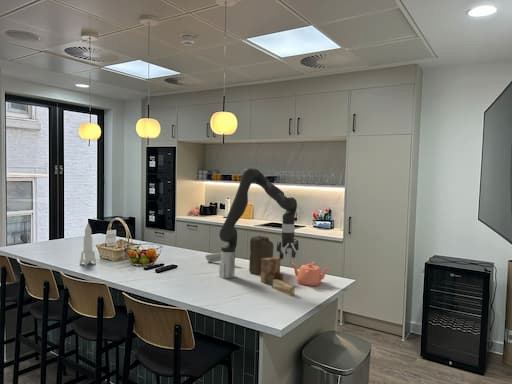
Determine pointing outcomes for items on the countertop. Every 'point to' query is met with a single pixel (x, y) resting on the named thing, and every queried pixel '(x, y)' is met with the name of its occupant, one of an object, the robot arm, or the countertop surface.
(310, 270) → the pot
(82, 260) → the sculpture
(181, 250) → the countertop surface
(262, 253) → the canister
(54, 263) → the countertop surface
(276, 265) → the slotted wooden stand
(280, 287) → the rail
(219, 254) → the gun
